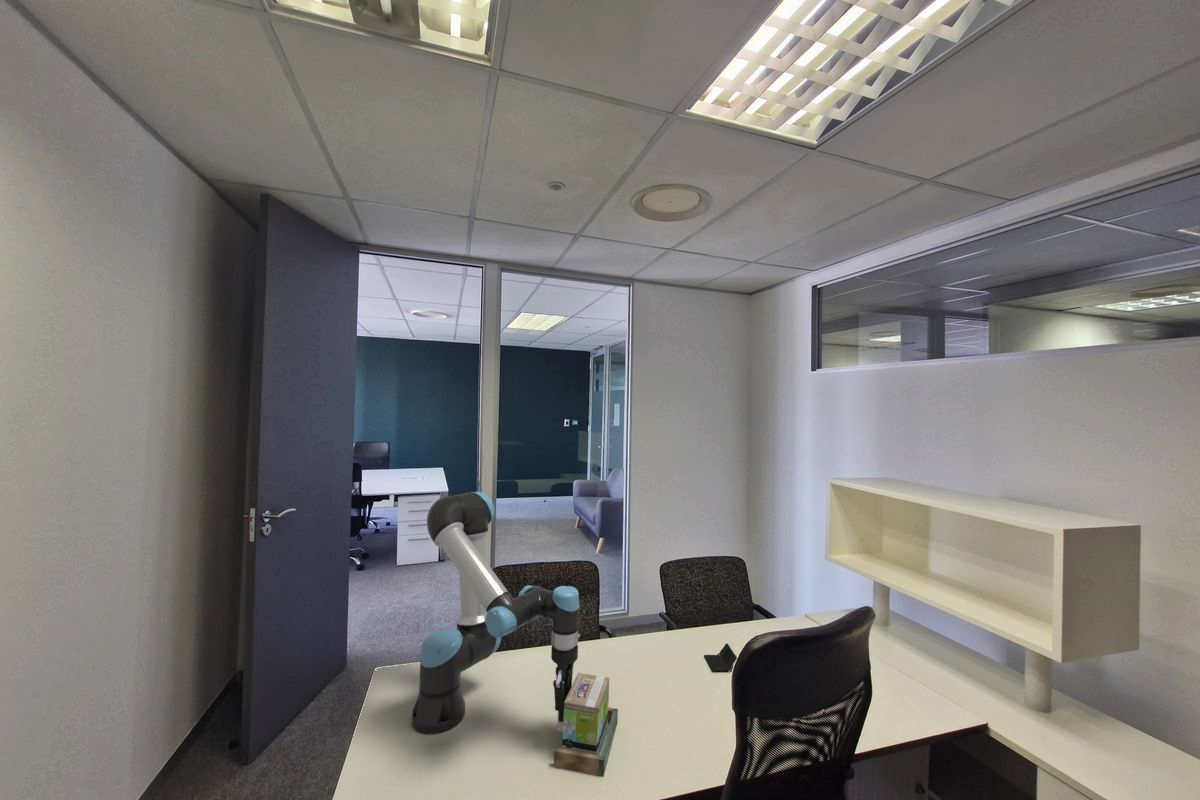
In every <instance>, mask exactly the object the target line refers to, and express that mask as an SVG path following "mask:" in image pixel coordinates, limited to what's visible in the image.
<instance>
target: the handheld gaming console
mask: <svg viewBox="0 0 1200 800" xmlns="http://www.w3.org/2000/svg"><path fill="white" fill-rule="evenodd" d="M703 657H704V659H705V662H706V664H707V665H708V667H709V668H710V671H711V673H714V674H715V673H717V674H718V673H729V670H731V668H732V666H733V665H734V663H735V662H736V661H737V660H738V657H737V655H736V654H735V653H734V651H733V649H732V648H731V646H730V645H729V643H727V642H726V643H725V644H724V646H723V647H722V648H721V650H720V651H719V652H718V653H717V654H704V655H703Z"/></svg>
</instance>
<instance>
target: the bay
mask: <svg viewBox="0 0 1200 800" xmlns="http://www.w3.org/2000/svg"><path fill="white" fill-rule="evenodd" d="M618 712H619V709H618V708H614V707H608V728H607V731H606V735H605V738H604V741H603V744H602V748H601V751H600V754H599V756H598V755H593V754H587V753H582V752H576V751H571V750H565V749H562V748H561V747H560V748H559V747H555V748H554V749H553V767H554V768H556V769H561V770H568V771H572V772H578V773H582V774H588V775H594V776H598V777H605V773H606V768H607V765H608V760H609V756H610V753H611V749H612V745H613V743H614V738H615V734H616V730H617V726H618V719H619V718H618Z"/></svg>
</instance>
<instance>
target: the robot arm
mask: <svg viewBox="0 0 1200 800" xmlns="http://www.w3.org/2000/svg"><path fill="white" fill-rule="evenodd" d="M494 516H495V506H494V502H493V501H492V499H491V498H490V497H489V496H488V495H487V494H486V493H484V492H482V491H471V492H469V491H468V492H465V493H459V494H454V495H446V496H443V497H440V498H439V499H437V500H436V501H435V502H433V504H432V505H431V506H430V509H429V510H428V512H427V517H426V526H427V527H426V528H427V533H428V534H429V536H430V537H429V538H430V539H431V540H432V542H433V543H434V545H435V546H436V547H440V548H442V549H443V551H444V553H445V554H446V556H448V558H449V560H450V561H451V563H452V564H453V565H454V567H455V568H456V569H457V571H458V574H459V575H458V580H459V601H460V615H459V616H458V618H457V619H456V621H455V622H456V628H445V629H444V630H443V629H440V630H437V631H435V632H433V633H431V634H430V635H429V636H427V637H426V638H425V639H424V640H423V642H422V644H421V649H420V655H419V662H420V665H419V666H420V667H419V683H418V684H419V688H418V689H419V690H418V696H417V698H416V700H415V704H414V707H413V710H412V713H411V726H412V728H413V729H414V730H415V731H417V732H418V733H422V734H428V735H432V734H440V733H443V732H446V731H449V730H451V729H452V728H454V727H456V726H457V725H458V724H459V723H461V722H462V721H463V719H464V718H465V715H466V714H465V713H466V702H465V700H464V696H463V692H462V689H461V673H462V672H464V671H466V670H468V669H470V668H472V667H473V666H475V665H476V664H478V663H480V662H482V661H484V660H486V659H488V658H489V657H490V656H491V655H493V654H494V653H495V652H496V651H497V650H498V648H499V647H500V645H501V641H502V637H505V636H506V635H510V634H512V633H513V632H515V630H518V629H519V628H521V627H523V626H525V625H527V624H528V623H531V622H532V621H534V620H536V619H537V618H542V619H545V620H548V621H551V628H552V629H551V657H550V658H551V660H552V662H553V663H554V664H556V665H557V666H556V667H555V677H556V678H555V679H554V680H553V683H552V686H553V690H554V709H555V711H557V725H556V727H557V728H556V729H557V732H561V733H563V718H564V702H565V699H566V697H567V695H568V693H569V691H570V689H571V687H572V685H573V673H574V663H576V661H577V660H578V657H579V655H578V654H579V645H578V643H579V638H580V637H581V634H580V633H579V611H580V600H579V599H580V595H579V594H580V593H579V591H578V589H577V588H576V587H574V586H571V585H569V586H566V585H560V586H558V587H556V588H554V589H553V590H548V589H546V588H543V587H541V586H537V585H534V586H533V585H531V584H530V585H529V584H528V585H526V586H524V587H522V589H521V590H520V591H519V593H518V596H516V597H513V596H512V594H511V593H510V592H509V591H508V589H507V588H506V587H505V585H504V584H503V583H502V581H501V580H500V578H499V577H498V576H497V574H496V573H495V572H494V570H493V569H492V568H491V566H490V564H488V562H487V561H486V551H485V536H486V535H487V534H488V532H489V524H491V523H492V522H493V519H494V518H495V517H494Z"/></svg>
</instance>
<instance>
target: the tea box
mask: <svg viewBox="0 0 1200 800" xmlns="http://www.w3.org/2000/svg"><path fill="white" fill-rule="evenodd" d="M609 693H610V677H606V676H602V675H593V674H587V673H582V672H581V673H580V672H578V673H577V674H576V676H575V679H574V681H573V682H572V687H571V689H570V691H569V693H568V695H567V697H566V699H565V702H564V718H563V732H562V740H561V741H562V744H561V749H565V750H571V751H576V752H582V753H587V754H593V755H598V756H600V755H601V751H602V748H603V744H604V741H605V737H606V734H607V730H608V727H609V724H608V708H609V699H610V698H609V697H610V696H609V695H610V694H609Z"/></svg>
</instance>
